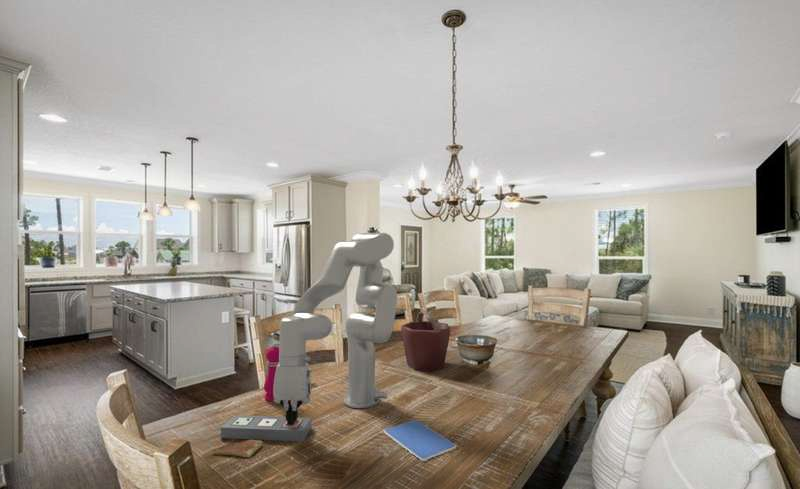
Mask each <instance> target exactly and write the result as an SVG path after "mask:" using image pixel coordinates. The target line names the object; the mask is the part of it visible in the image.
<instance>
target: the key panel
mask: <svg viewBox="0 0 800 489" xmlns="http://www.w3.org/2000/svg"><path fill="white" fill-rule="evenodd" d="M239 418H253V420H252V421H251V422H250V423H249V424H248V425H247V426H237V425H232V424H233V423H234V422H235V421H236V420H237V419H239ZM263 419H278V421H277V422H276V423H275V424H274V425H273V427H260V426H257V425H258V424H259V423H260V422H261V421H262V420H263ZM312 419H313V418H311V417H298V418H297V420H302V423H301V424H300V425H299V427H298V428H283V427H282V426H283V425H284V423H285V422H286V421H287V420H286V416H268V415H267V416H266V415H265V416H264V415H246V414H245V415H243V414H235V415H233V416H232V417H231V418H230V419H228V421H226V423H224V424H223V425H222V426H220V439H237V440H249V439H251V440H256V441H276V442H277V441H280V442H281V441H282V442H299V443H300V442H304V441H305V438H306V437H307V436H308V434H309V433H310V431H311V430H312Z"/></svg>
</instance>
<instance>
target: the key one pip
mask: <svg viewBox="0 0 800 489" xmlns="http://www.w3.org/2000/svg"><path fill="white" fill-rule="evenodd" d="M277 421H278V419H263V420H262V421H261V422H260V423H259V424H258V425H257V426H260V427H273V425H274V424H275V423H276V422H277Z"/></svg>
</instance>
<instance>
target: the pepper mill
mask: <svg viewBox="0 0 800 489" xmlns="http://www.w3.org/2000/svg"><path fill="white" fill-rule="evenodd" d="M271 346H272V347H270V348H268V349H267V350H266V353H265V358H266V360H267V361H266V363H267V364H266V366H268V371H267V372H268V373H267V375H266V378H265V381H264V384H263V390H264V392H265V394H264V399H265V401H267V402H274V401H273V400H274V395H273V389H274V378H275V372H276V368H277V365H278V364H279V346H278V343H276V342H273V343H272V344H271Z"/></svg>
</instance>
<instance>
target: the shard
mask: <svg viewBox="0 0 800 489" xmlns="http://www.w3.org/2000/svg"><path fill="white" fill-rule="evenodd" d="M262 444H263V440H255V439H244V440H242V441H238V442H234V443H231V444H228V445H224V446H221V447H217V448H214V449H211V452H212V453H213V455H223V456H224V455H225V456H236V457H243V458H251V457H252V455H253V454H255V453H256V452H257V451H258V450H259V449H260V448H261V447H262Z"/></svg>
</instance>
